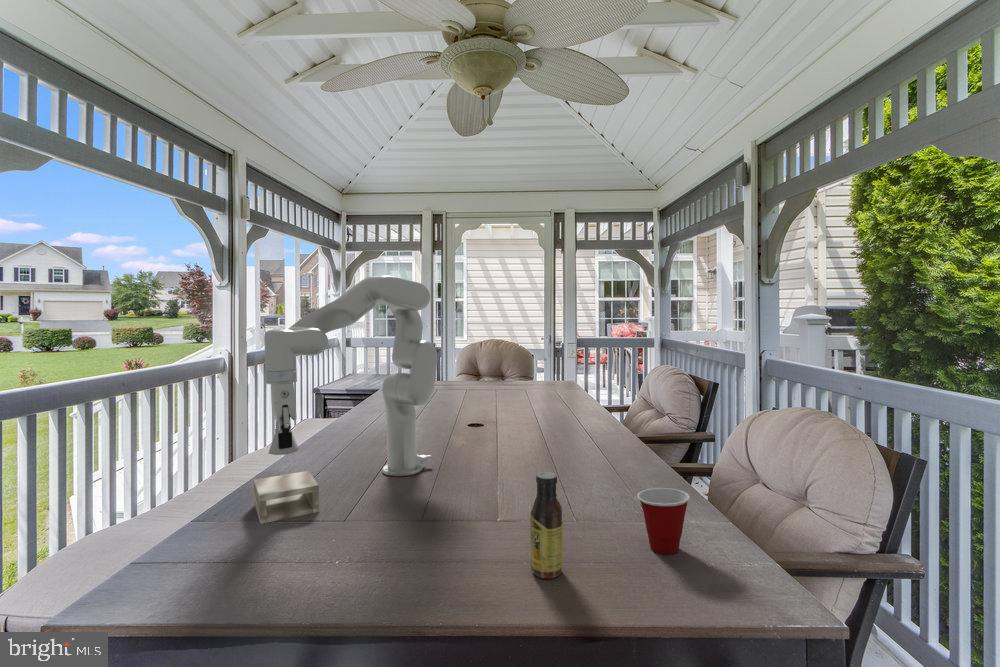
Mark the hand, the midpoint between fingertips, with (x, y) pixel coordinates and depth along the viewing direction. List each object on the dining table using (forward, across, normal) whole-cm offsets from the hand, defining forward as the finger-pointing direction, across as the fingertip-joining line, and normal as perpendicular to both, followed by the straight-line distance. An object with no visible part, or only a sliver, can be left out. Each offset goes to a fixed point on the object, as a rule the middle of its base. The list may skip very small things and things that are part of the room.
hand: (283, 444), depth 136 cm
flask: (+2, 0, 0) cm, 2 cm away
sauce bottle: (+17, -64, -39) cm, 77 cm away
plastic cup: (+17, -68, -66) cm, 97 cm away
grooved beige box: (+17, 0, 0) cm, 17 cm away
